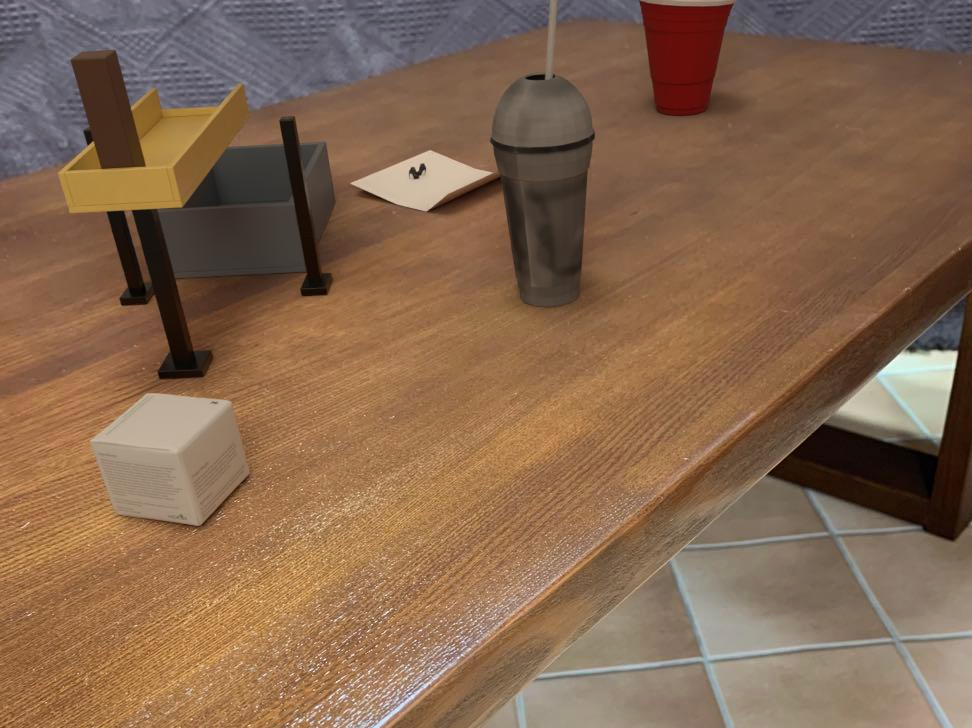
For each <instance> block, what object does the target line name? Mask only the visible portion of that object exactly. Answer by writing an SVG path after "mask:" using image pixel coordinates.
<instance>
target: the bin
mask: <svg viewBox="0 0 972 728" xmlns="http://www.w3.org/2000/svg"><path fill="white" fill-rule="evenodd" d="M299 143H300V148H301V154H302V160H303V166H304V171H305V177H306V183H307V188H308V194H309V200H310V206H311V211H312V217H313V223H314V229H315V234H316V240H317V245H319V243H320V239H321V237H322V235H323V232H324V230H325V228H326V225H327V223H328V220H329V218H330V216H331V213H332V210H333V209H334V206H335V203H336V196H335V189H334V183H333V178H332V177H333V176H332V169H331V164H330V158H329V152H328V145H327V141H312V142H311V141H310V142H299ZM157 210H158V214H159V218H160V222H161V226H162V230H163V234H164V237H165V241H166V245H167V249H168V253H169V257H170V261H171V264H172V268H173V272H174V276H175V280H176V279H189V278H190V279H192V278H193V279H194V278H211V277H212V278H213V277H230V276H250V275H268V274H269V275H270V274H288V273H291V274H292V273H307V271H306V265H305V260H304V254H303V249H302V243H301V238H300V232H299V227H298V221H297V216H296V210H295V205H294V200H293V194H292V189H291V183H290V178H289V172H288V167H287V161H286V156H285V150H284V145H283V143H274V144H273V143H272V144H271V143H270V144H254V145H237V146H233V145H232V146H228V147H227V148H226V150H225V151H224V152H223V154H222V155H221V156H220V158H219V159H218V160H217V162H216V163H215V164H214V166H213V167H212V168H211V170H210V171H209V172H208V174H207V175H206V176H205V178H204V179H203V181H202V182H201V183H200V185H199V186H198V187H197V189H196V190H195V191H194V193H193V194H192V195H191V197H190V198H189V199H188V201H187V202H186V203H185V205H184V206H183V207H180V208H161V209H157Z"/></svg>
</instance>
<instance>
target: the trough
mask: <svg viewBox="0 0 972 728" xmlns="http://www.w3.org/2000/svg"><path fill="white" fill-rule="evenodd" d="M70 63H71V67H72V69H73V70H72V71H73V75H74V78H75V81H76V85H77V88H78V91H79V96H80V98H81V102H82V106H83V109H84V113H85V117H86V120H87V123H88V127H90V131H91V134H92V138H93V142H92V143H91V144H90V145H88V146H87V145H86V147H85V148H84V149H82V151H81V152H80V153H78V154H77V155H76V156H75V157H73V159H72V160H70V161H69V163H68V164H66V165H65V166H64V167H63V168H62V169H60V170H59V171H58V173H57V176H58V179H59V183H60V185H61V189H62V192H63V195H64V197H65V198H64V199H65V202H66V204H67V208H68V211H69V214H83V213H101V212H103V213H104V212H106V211H123V210H124V211H132V210H142V209H161V208H180V207H183V206H184V205H185V203H186V202H187V201H188V199H189V198H190V197H191V195H192V194H193V193H194V191H195V190H196V189H197V187H198V186H199V185H200V183H201V182H202V181H203V179H204V178H205V176H206V175H207V174H208V172H209V171H210V170H211V168H212V167H213V166H214V164H215V163H216V162H217V160H218V159H219V158H220V156H221V155H222V154H223V152H224V151H225V150H226V148H227V147H230V145H231V143H232V142H233V141H234V139H235V138H236V136H237V135H238V134H239V132H240V131H241V130H242V128H244V126H245V125H246V123H247V121H248V120H249V119H250V117H251V114H250V110H249V103H248V98H247V95H246V89H245V84H244V83H243V82H239V83H237V84H236V85H235V86H234V88H233V89H232V90H231V91H230V93H229V94H228V95H227V96H226V97H225V98H224V99H223V101H222V102H221V103H220V104H219V105H213V106H196V107H195V106H194V107H176V108H162V104H161V100H160V99H161V98H160V96H159V92H158V88H157V87H151V88H150V89H149V90H148V91H146V93H145V94H144V95H142V97H140V98H139V99H138V100H137V101H136V102H134V104H133V105H131V103H130V99H129V95H128V91H127V86H126V83H125V80H124V76H123V73H122V69H121V65H120V61H119V57H118V53H117V50H116V49H102V50H82V51H81V52H79V53H78V54H76V55H75V56H73V57H72V58H70Z"/></svg>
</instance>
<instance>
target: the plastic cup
mask: <svg viewBox="0 0 972 728" xmlns="http://www.w3.org/2000/svg"><path fill="white" fill-rule="evenodd" d="M736 2H738V0H638V3H639V6H640V13H641V15H642V26H643V27H644V35H645V43H646V52H647V59H648V60H647V61H648V68H649V75H650V79H651V84H652V92H653V101H654V104H655V107H656V111H657V112H659V113H661V114H664V115H665V114H666V115H672V116H687V115H689V116H690V115H696V114H700V113H703V112H705V111H706V110H707V109H708V105H709V103H710V101H711V94H712V89H713V83H714V78H715V77H716V73H717V67H718V64H719V58H720V53H721V51H722V50H721V49H722V44H723V39H724V35H725V30H726V27H727V25H728V20H729V17H730V15H731V13H732V12H731V11H732V9H733V7H734V6H735V3H736Z"/></svg>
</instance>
